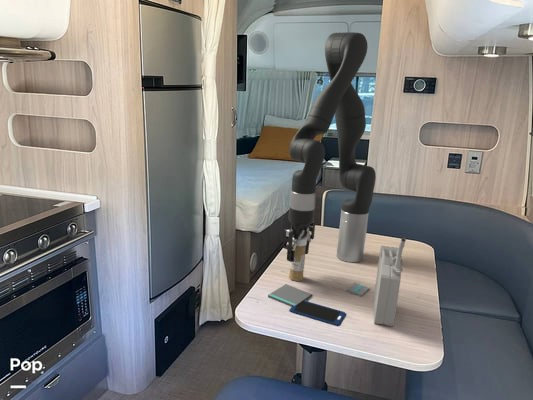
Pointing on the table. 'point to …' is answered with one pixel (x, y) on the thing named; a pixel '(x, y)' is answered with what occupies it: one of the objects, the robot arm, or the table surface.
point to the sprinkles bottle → (298, 261)
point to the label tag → (357, 289)
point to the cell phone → (319, 312)
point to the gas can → (388, 284)
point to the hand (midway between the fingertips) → (297, 257)
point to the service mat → (289, 295)
